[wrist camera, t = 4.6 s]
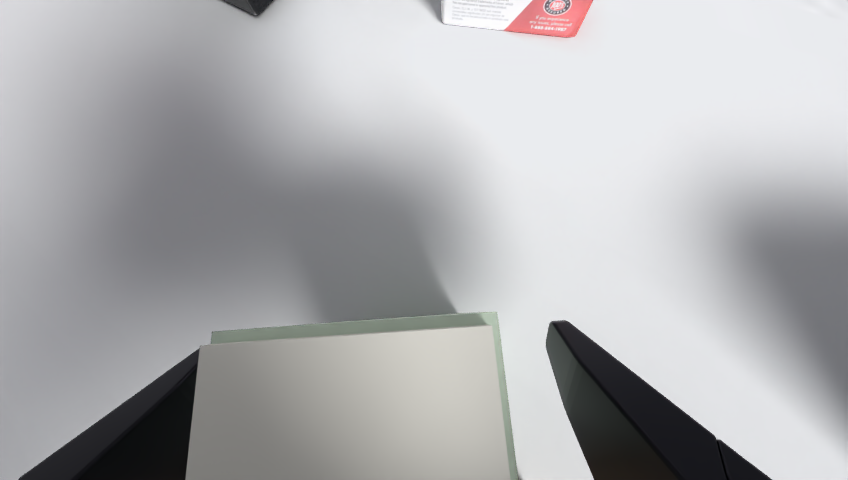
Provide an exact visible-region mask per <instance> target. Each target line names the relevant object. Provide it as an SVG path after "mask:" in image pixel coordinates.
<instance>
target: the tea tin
mask: <svg viewBox="0 0 848 480" xmlns="http://www.w3.org/2000/svg"><path fill="white" fill-rule="evenodd" d="M185 480H518V475H517V467H516V459H515V451H514V443H513V435H512V427H511V419H510V411H509V403H508V395H507V387H506V379H505V371H504V363H503V354H502V346H501V338H500V330H499V322H498V314H497V312H479V313H456V314H442V315H428V316H414V317H400V318H385V319H371V320H357V321H344V322H331V323H318V324H306V325H293V326H280V327H267V328H254V329H241V330H228V331H215V332H212V337H211V344H210V345H203V346H200V350H199V359H198V368H197V377H196V387H195V396H194V405H193V414H192V423H191V433H190V442H189V451H188V460H187V469H186V478H185Z"/></svg>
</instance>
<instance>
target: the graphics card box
mask: <svg viewBox="0 0 848 480" xmlns="http://www.w3.org/2000/svg"><path fill="white" fill-rule="evenodd" d="M224 1H226V2H229V3H231V4H232V5H235V6H237V7H239V8H241V9H243V10H245V11H247V12H249V13H251V14H253V15H258V14H259V13H260V12H262V11H263V10H264V9H265V8H266V7H267V6H268V5H269V3H270V2H271V1H272V0H224Z"/></svg>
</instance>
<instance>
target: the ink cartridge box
mask: <svg viewBox="0 0 848 480" xmlns="http://www.w3.org/2000/svg"><path fill="white" fill-rule="evenodd" d="M592 2H593V0H441V16H442V22H443V23H444V24H447V25H458V26H466V27H476V28H485V29H494V30H504V31H513V32H523V33H532V34H541V35H551V36H560V37H575V36H576V34H577V32H578V30H579V28H580V26H581V24H582V22H583V20H584V18H585V16H586V14H587V12H588V10H589V8H590V6H591V4H592Z"/></svg>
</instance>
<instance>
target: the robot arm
mask: <svg viewBox="0 0 848 480" xmlns="http://www.w3.org/2000/svg"><path fill="white" fill-rule="evenodd" d="M546 349H547V353H548V356H549V359H550V363H551V366H552V369H553V373H554V376H555V379H556V383H557V386H558V389H559V392H560V396H561V399H562V402H563V405H564V408H565V411H566V413H567V416H568V418H569V421H570V423H571V425H572V428H573V430H574V432H575V435H576V437H577V440H578V442H579V444H580V447H581V449H582V452H583V454H584V456H585V459H586V461H587V463H588V466H589V468H590V471H591V473H592V475H593V478H594V480H772V479H771V478H769V477H768V476H767V475H765V474H764V473H763V472H761V471H760V470H759V469H757V468H756V467H755V466H753V465H752V464H751V463H749V462H748V461H747V460H746V459H744V458H743V457H742V456H740V455H739V454H738V453H736V452H735V451H734V450H733V449H731V448H730V447H729V446H727V445H726V444H725V443H724V442H722V441H721V440H718V439H717V440H716V437H715V436H714V435H713V434H712V433H711V432H709V431H708V430H707V429H705V428H704V427H703V426H702V425H700V424H699V423H698V422H696V421H695V420H694V419H693V418H691V417H690V416H689V415H688V414H686V413H685V412H684V411H682V410H681V409H680V408H679V407H677V406H676V405H675V404H673V403H672V402H671V401H670V400H668V399H667V398H666V397H664V396H663V395H662V394H661V393H659V392H658V391H657V390H655V389H654V388H653V387H652V386H650V385H649V384H648V383H646V382H645V381H644V380H643V379H641V378H640V377H639V376H637V375H636V374H635V373H634V372H632V371H631V370H630V369H628V368H627V367H626V366H625V365H623V364H622V363H621V362H620V361H618V360H617V359H616V358H614V357H613V356H612V355H611V354H609V353H608V352H607V351H605V350H604V349H603V348H602V347H600V346H599V345H598V344H596V343H595V342H594V341H593V340H591V339H590V338H589V337H587V336H586V335H585V334H584V333H582V332H581V331H580V330H578V329H577V328H576V327H575V326H573V325H572V324H571V323H569V322H568V321H565V320H561V321H552V322H550V324H549V328H548V333H547V339H546ZM199 350H200V348H199V349H198V350H196V351H195V352H194V353H192V354H191V355H189V356H188V357H187V358H185V359H184V360H182V361H181V362H180V363H178V364H177V365H176V366H174V367H173V368H171V369H170V370H169V371H167V372H166V373H164V374H163V375H162V376H160V377H159V378H157V379H156V380H155V381H153V382H152V383H151V384H149V385H148V386H146V387H145V388H144V389H142V390H141V391H139V392H138V393H137V394H135V395H134V396H132V397H131V398H130V399H128V400H127V401H126V402H124V403H123V404H121V405H120V406H119V407H117V408H116V409H114V410H113V411H112V412H110V413H109V414H107V415H106V416H105V417H103V418H102V419H101V420H99V421H98V422H96V423H95V424H94V425H92V426H91V427H89V428H88V429H87V430H85V431H84V432H82V433H81V434H80V435H78V436H77V437H76V438H74V439H73V440H71V441H70V442H69V443H67V444H66V445H64V446H63V447H62V448H60V449H59V450H57V451H56V452H55V453H53V454H52V455H51V456H49V457H48V458H46V459H45V460H44V461H42V462H41V463H39V464H38V465H37V466H35V467H34V468H32V469H31V470H30V471H28V472H27V473H26V474H24V475H23V476H21V477H20V478H19V479H18V480H185V478H186V469H187V460H188V451H189V442H190V433H191V423H192V414H193V405H194V396H195V387H196V377H197V368H198V359H199Z"/></svg>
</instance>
